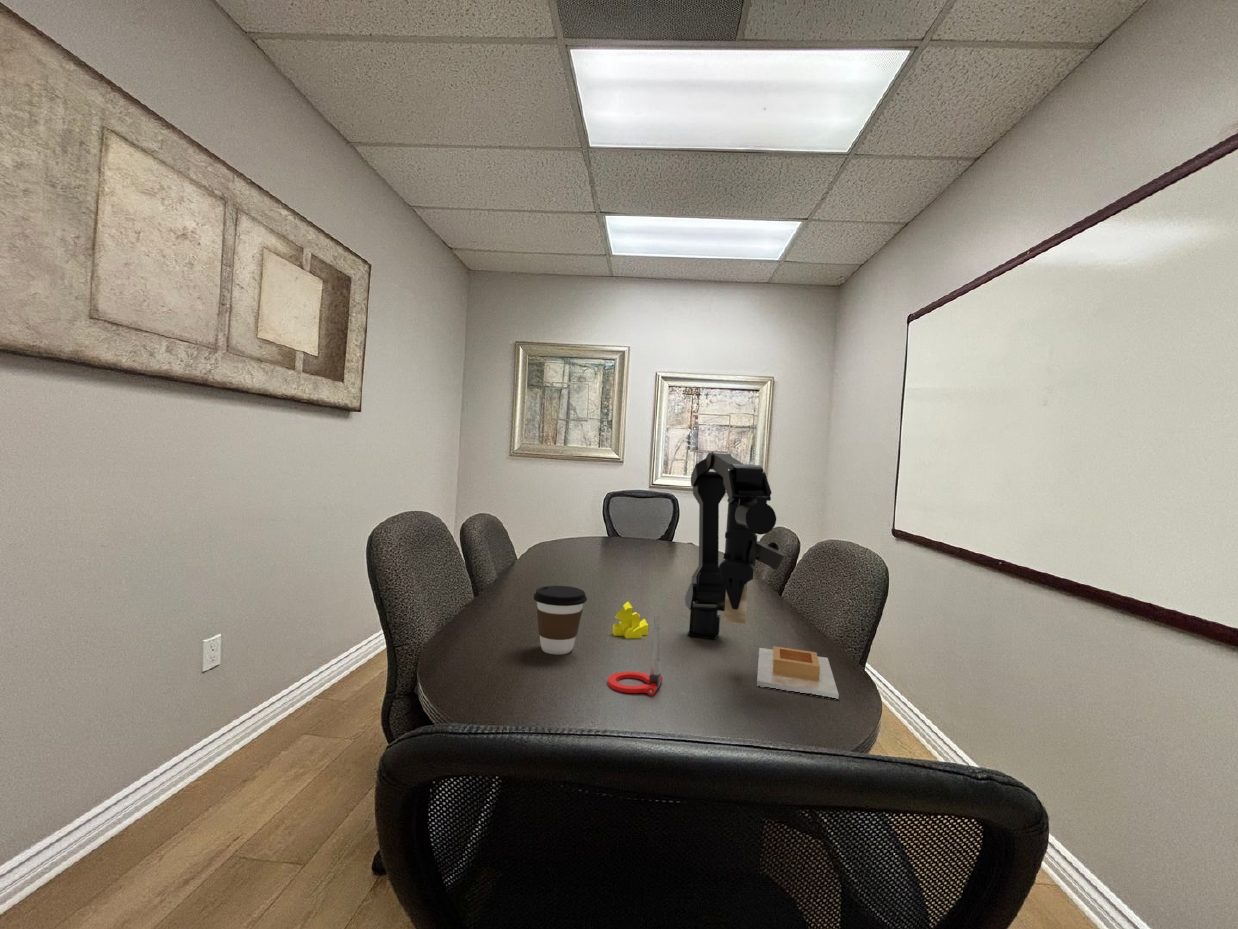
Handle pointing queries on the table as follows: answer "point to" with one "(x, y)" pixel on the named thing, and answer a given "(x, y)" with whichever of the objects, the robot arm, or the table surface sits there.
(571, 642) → the coffee cup
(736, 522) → the robot arm
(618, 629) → the yellow blocky cluster
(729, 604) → the cream upright block
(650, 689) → the tow hook
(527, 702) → the table surface
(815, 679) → the wooden socket on plate
